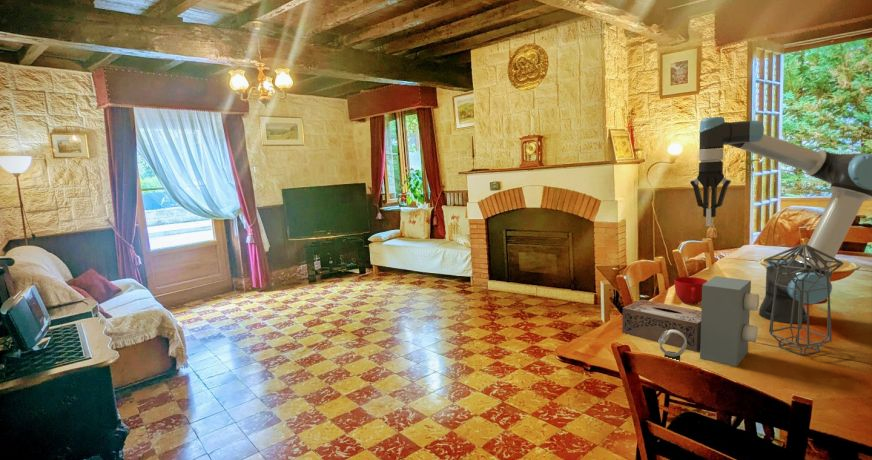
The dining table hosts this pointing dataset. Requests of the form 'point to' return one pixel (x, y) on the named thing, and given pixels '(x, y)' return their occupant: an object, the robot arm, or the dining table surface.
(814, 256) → the geometric lantern
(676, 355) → the watch
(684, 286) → the ceramic cup
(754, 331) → the lower knob
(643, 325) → the tissue box cover
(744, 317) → the knob mount
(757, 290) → the dining table surface
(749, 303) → the upper knob
